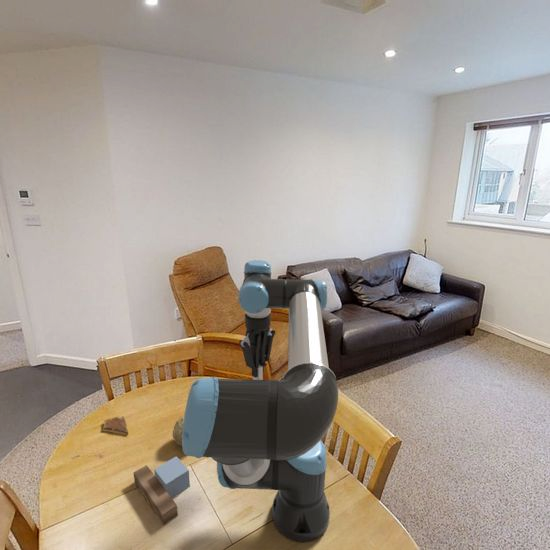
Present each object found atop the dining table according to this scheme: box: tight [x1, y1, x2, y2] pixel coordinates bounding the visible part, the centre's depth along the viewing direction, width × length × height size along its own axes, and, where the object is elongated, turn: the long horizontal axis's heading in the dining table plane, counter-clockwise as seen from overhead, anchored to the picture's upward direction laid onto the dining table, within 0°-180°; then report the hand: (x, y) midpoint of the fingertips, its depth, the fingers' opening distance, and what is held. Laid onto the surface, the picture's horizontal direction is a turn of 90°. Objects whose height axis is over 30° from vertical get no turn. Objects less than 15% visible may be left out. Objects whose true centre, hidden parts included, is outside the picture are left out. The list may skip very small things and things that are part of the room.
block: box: [153, 456, 191, 499], centre depth 102 cm, size 7×7×6 cm
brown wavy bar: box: [133, 464, 179, 526], centre depth 98 cm, size 18×4×4 cm, turn 44°
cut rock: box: [172, 416, 184, 446], centre depth 118 cm, size 10×10×10 cm
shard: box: [102, 415, 129, 436], centre depth 124 cm, size 11×8×2 cm
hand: (257, 384), depth 110 cm, fingers closed
